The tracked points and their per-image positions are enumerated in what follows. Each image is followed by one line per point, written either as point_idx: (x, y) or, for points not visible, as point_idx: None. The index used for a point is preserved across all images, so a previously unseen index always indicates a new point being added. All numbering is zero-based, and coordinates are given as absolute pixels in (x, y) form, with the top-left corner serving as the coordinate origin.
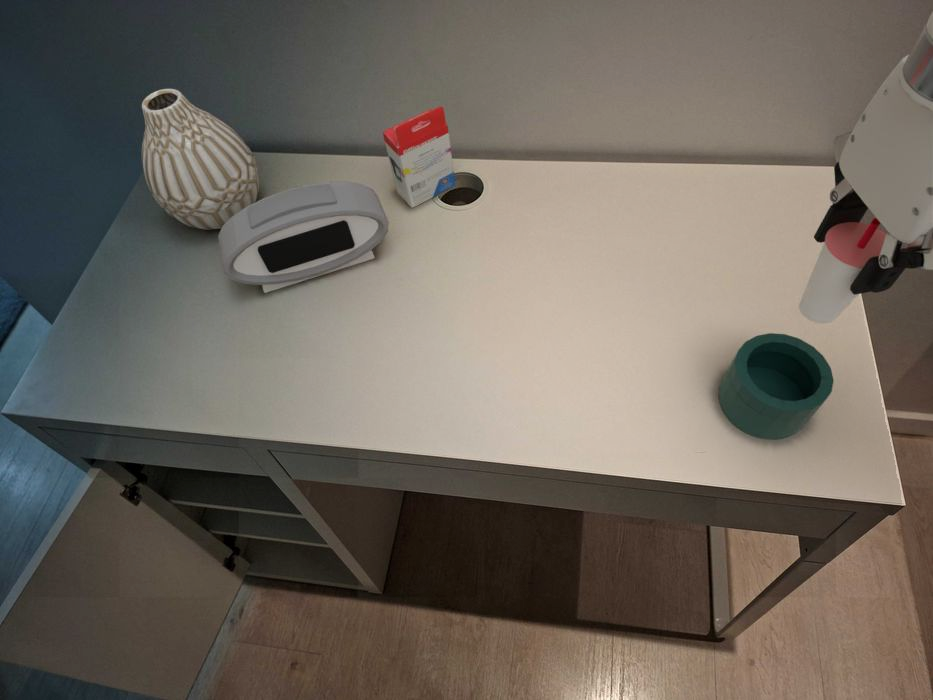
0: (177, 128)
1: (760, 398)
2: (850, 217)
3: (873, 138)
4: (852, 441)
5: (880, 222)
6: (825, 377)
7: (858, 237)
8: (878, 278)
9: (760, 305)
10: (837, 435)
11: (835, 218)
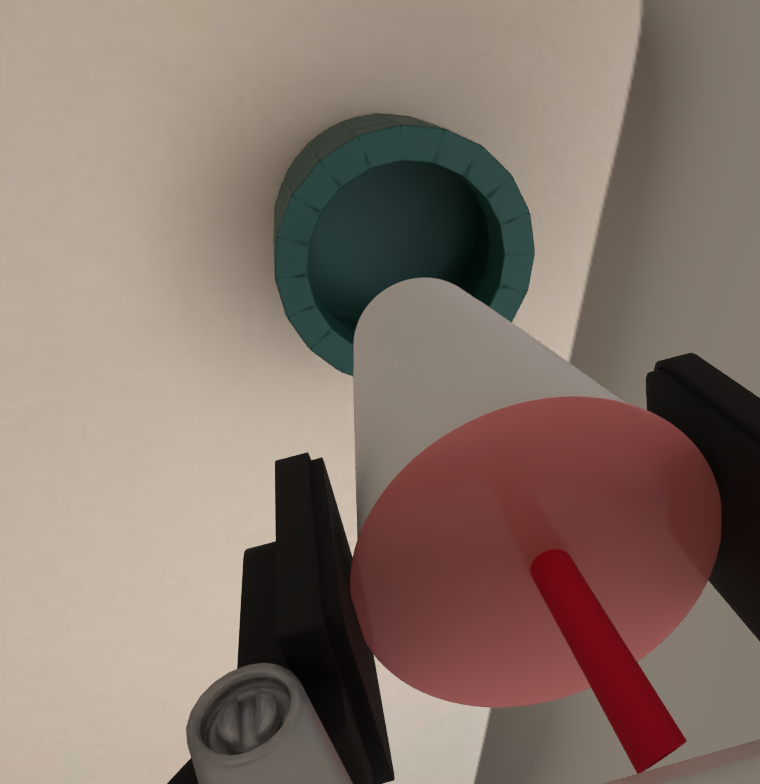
0: None
1: None
2: (356, 630)
3: None
4: (497, 18)
5: None
6: (435, 151)
7: (484, 569)
8: None
9: (45, 169)
10: (478, 55)
11: (381, 717)
